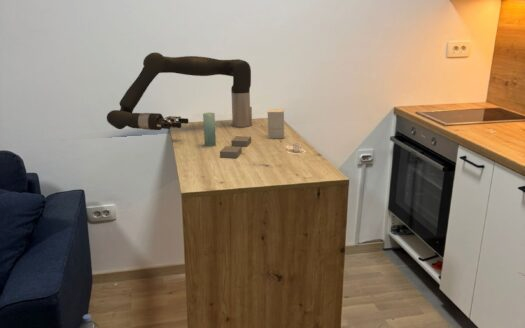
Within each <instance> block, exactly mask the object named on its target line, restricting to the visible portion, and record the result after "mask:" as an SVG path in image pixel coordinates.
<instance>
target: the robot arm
mask: <svg viewBox="0 0 525 328" xmlns="http://www.w3.org/2000/svg"><path fill="white" fill-rule="evenodd" d="M160 73H161V74H164V73H165V74H166V73H167V74H169V73H170V74H178V75H179V74H180V75H186V76H195V77H208V76H209V77H211V76H218V75H221V76H229V77H233V78H232V86H231V89H230V91H231V116H232V119H231V120H232V122H231V123H232V127H234V128H246V127H251V126H252V125H253V117H252V116H253V114H252V113H253V111H252V106H251V94H250V88H251V86H252V85H251V84H252V70H251V66H250V63H249V62H248V61H246V60H244V59H243V60H242V59H240V58H237V59H217V58H213V57H206V56H198V55H197V56H195V55H187V56H176V57H175V56H164V55H163V54H162V53H160V52H151V53H148V54H147V55H145V57H144V58H143V67H142V68H141V71H140V73H139V74H138V76H137V78H136V79H135V80H134V82H132V83H131V85H129V88H128V89H127V90H126V92H125V93H124V95H123V96H122V98H121V99H120V101H119V104H118V105H119V106H120V109H116V110H115V109H113V110H110V111H109V112H108V113H107V115H106V121H107V123H108V124H110V125H111V126H112V127H113V128H116V129H117V130H123V129H125V128H126V127H128V128H131V129H137V130H138V129H140V130H148V131H149V130H150V131H161V130H162V129H166V130H170V129H172V128H173V129H174V128H176V129H177V128H178V129H181V128H182V124H185V125H186V124H189V123H190V122H189V119H188V118H187V117H186V118H184V117H182V116H171V115H170V116H165V118H164V116H163V114H162V113H157V112H153V113H152V112H142V113H141V112H133V111H134V109H135V108H136V106H137V105H138V104H139V102H140V100H141V99H142V97H143V96H144V94H145V92H146V91H147V90H148V88H149V86H150V85H151V84H152V82H153V80H154V79H155V78H156V77H157V76H158V75H159V74H160Z"/></svg>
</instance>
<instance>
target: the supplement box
mask: <svg viewBox="0 0 525 328" xmlns="http://www.w3.org/2000/svg"><path fill="white" fill-rule="evenodd" d="M267 132H268V133H267V136H268V137H267V138H268V139H284V138H285V109H284V108H268V110H267Z"/></svg>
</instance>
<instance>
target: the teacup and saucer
mask: <svg viewBox="0 0 525 328" xmlns="http://www.w3.org/2000/svg"><path fill="white" fill-rule="evenodd" d="M285 149H286V153H288V154H291V155H302V154H305V153H306V152H307V151H306V150H305V149H303V148H302V145H301V142H298V141H294V142H293V143H292V145H287V146H286V147H285ZM301 150H303V151H304V152H303V151H301ZM300 151H301V152H300Z"/></svg>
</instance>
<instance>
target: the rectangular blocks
mask: <svg viewBox="0 0 525 328" xmlns="http://www.w3.org/2000/svg"><path fill="white" fill-rule="evenodd" d="M230 142H231V146H229V145H228V146H227V145H225V146H224V147H222V149H221V150H220V151H219V157H220V158H228V159H238V158H239V156H241V154H242V153H243V150H242V148H244V147H245V148H247V147H248V146H249V145H250V144H251V143H252V136H245V135H244V136H243V135H236V136H235V137H234V138H232V139H231V140H230Z"/></svg>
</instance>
